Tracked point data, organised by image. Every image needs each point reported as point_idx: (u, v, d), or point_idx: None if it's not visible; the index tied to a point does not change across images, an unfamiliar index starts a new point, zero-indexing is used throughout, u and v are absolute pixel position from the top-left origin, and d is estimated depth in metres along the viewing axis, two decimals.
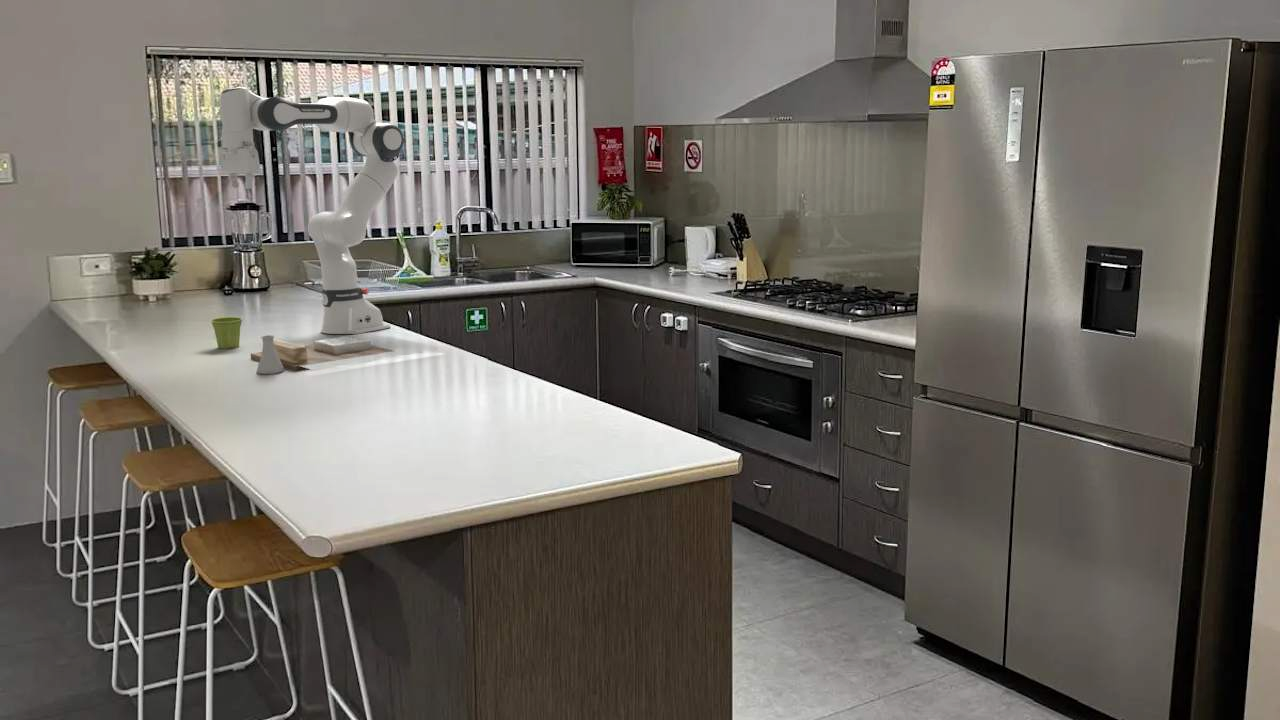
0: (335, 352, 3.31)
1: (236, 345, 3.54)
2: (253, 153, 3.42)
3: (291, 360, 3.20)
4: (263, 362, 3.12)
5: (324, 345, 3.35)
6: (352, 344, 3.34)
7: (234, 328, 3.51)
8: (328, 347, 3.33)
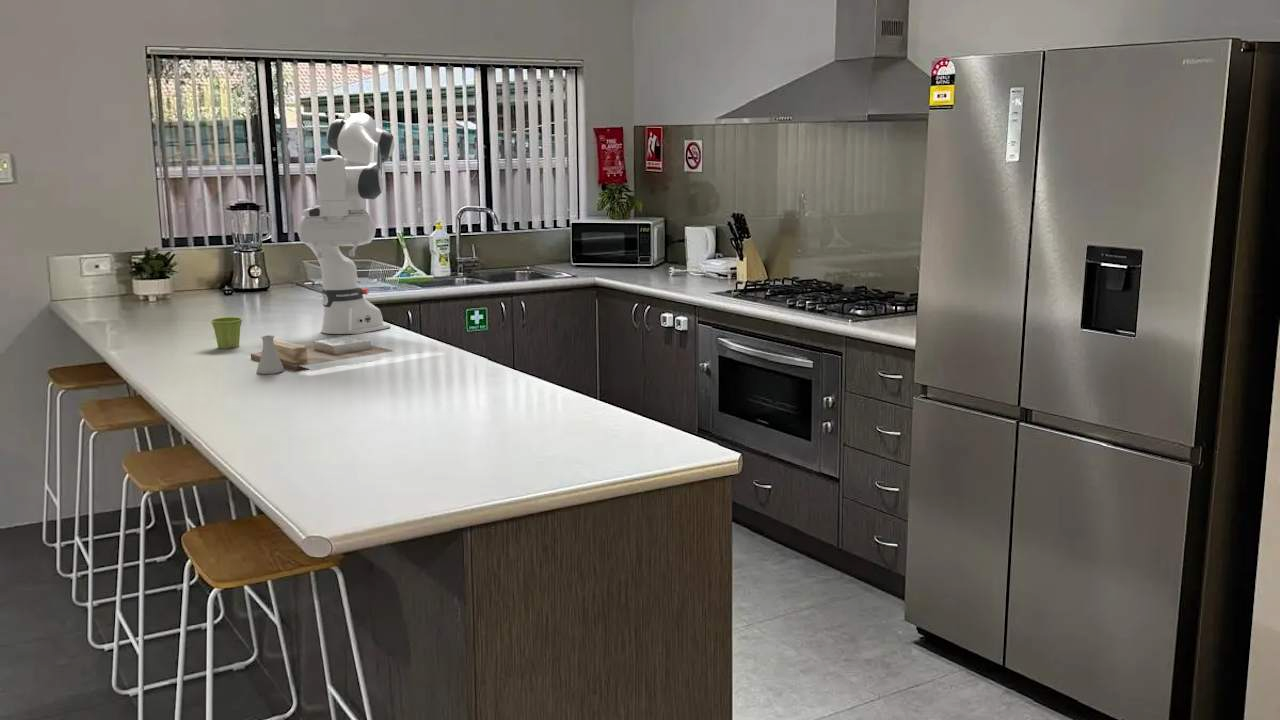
0: (335, 352, 3.31)
1: (236, 345, 3.54)
2: (368, 221, 3.47)
3: (291, 360, 3.20)
4: (263, 362, 3.12)
5: (324, 345, 3.35)
6: (352, 344, 3.34)
7: (234, 328, 3.51)
8: (328, 347, 3.33)
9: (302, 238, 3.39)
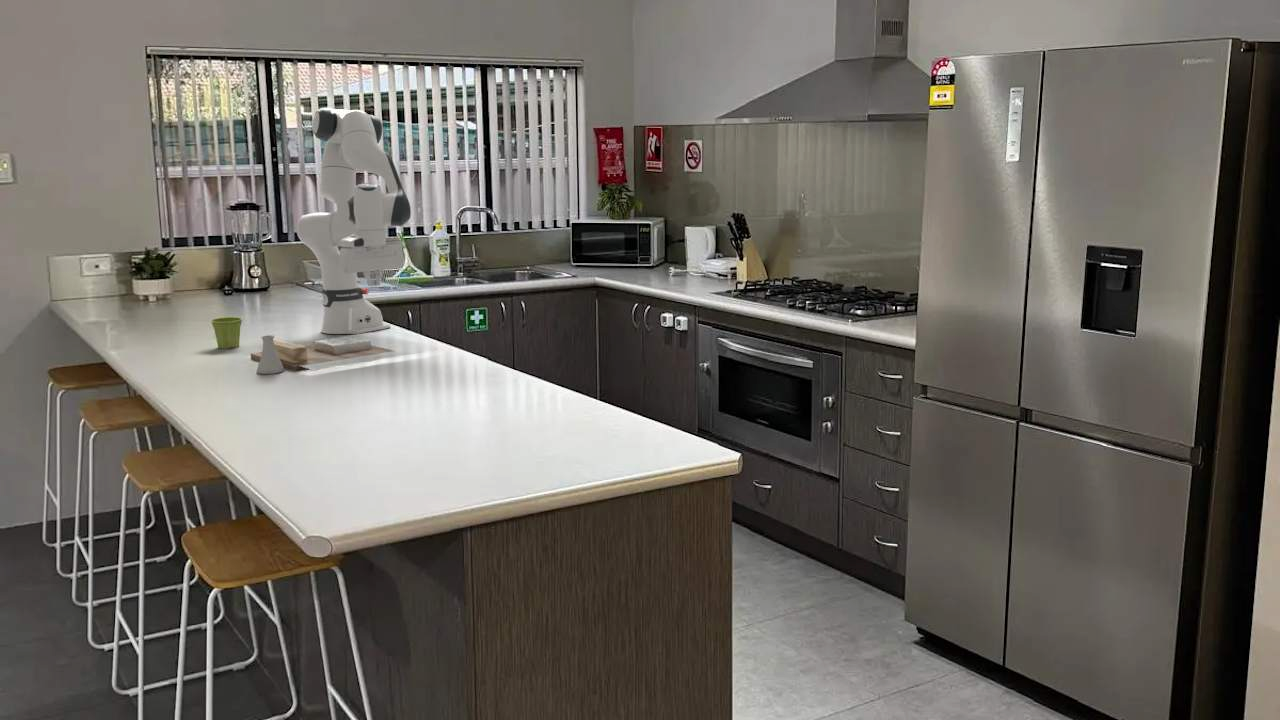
0: (335, 352, 3.31)
1: (236, 345, 3.54)
2: None
3: (291, 360, 3.20)
4: (263, 362, 3.12)
5: (324, 345, 3.35)
6: (352, 344, 3.34)
7: (234, 328, 3.51)
8: (328, 347, 3.33)
9: (346, 269, 3.35)
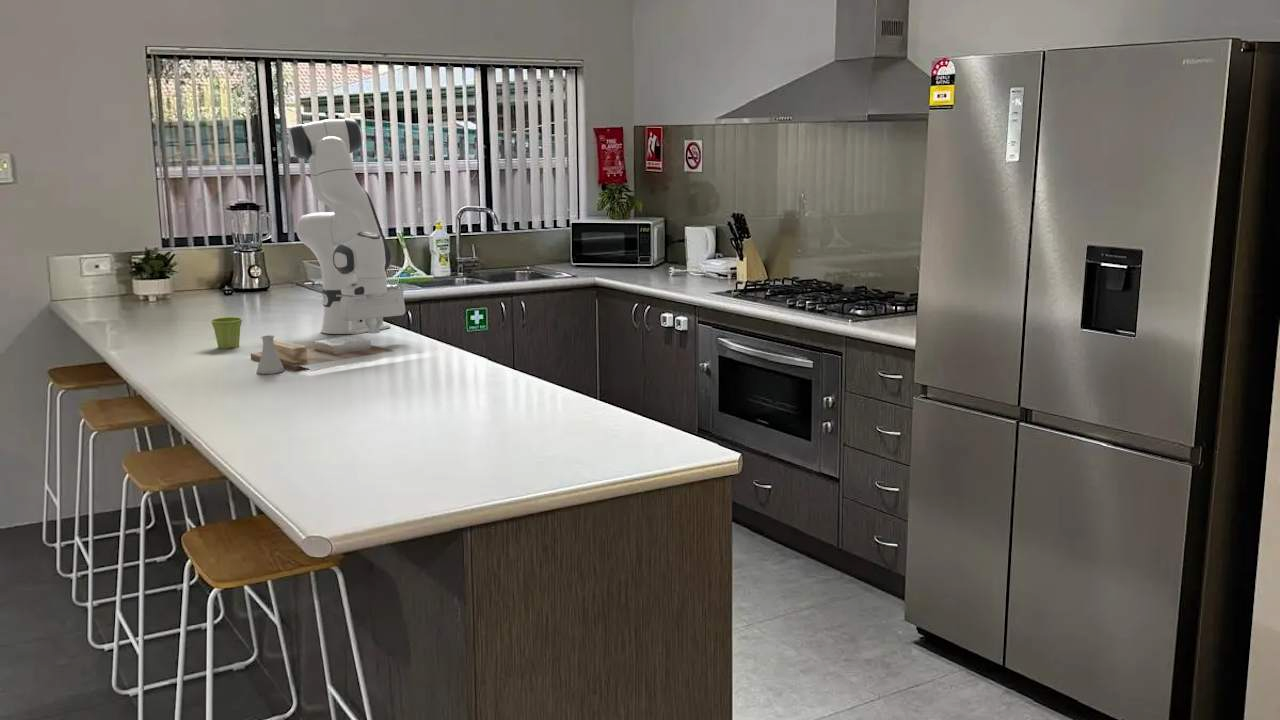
0: (335, 352, 3.31)
1: (236, 345, 3.54)
2: (402, 295, 3.50)
3: (291, 360, 3.20)
4: (263, 362, 3.12)
5: (324, 345, 3.35)
6: (352, 344, 3.34)
7: (234, 328, 3.51)
8: (328, 347, 3.33)
9: (347, 317, 3.37)
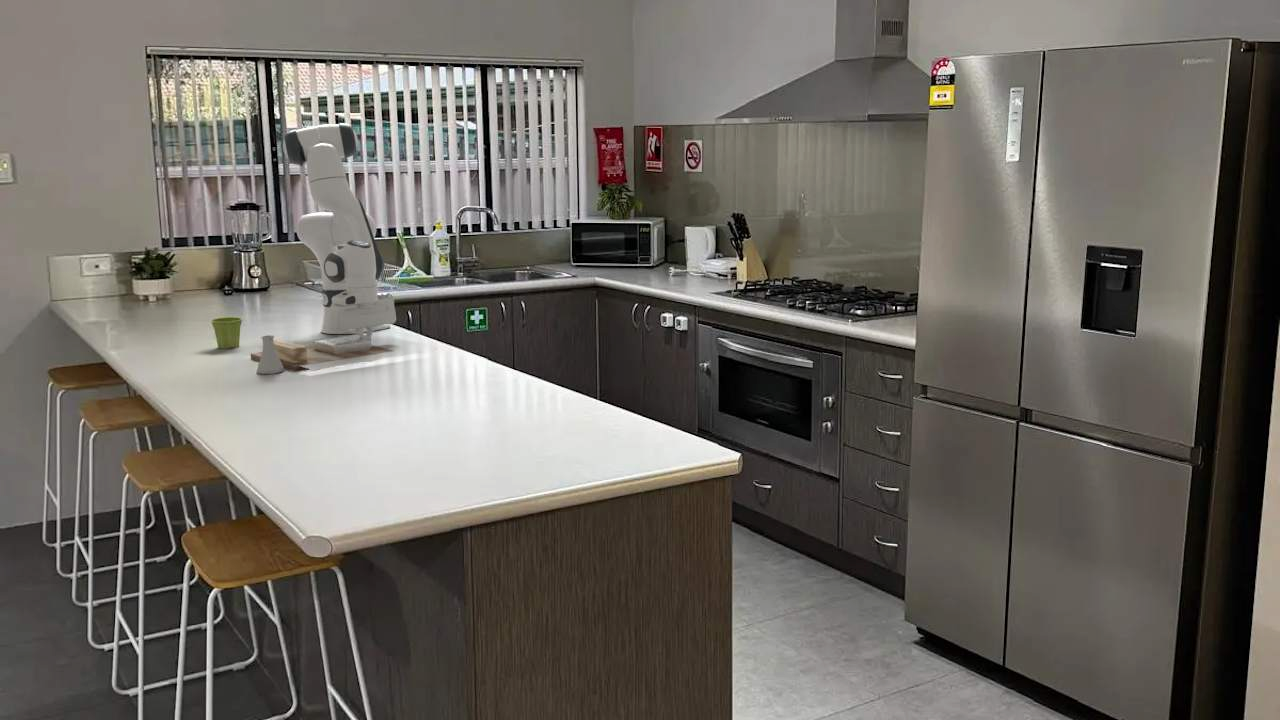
0: (335, 352, 3.31)
1: (236, 345, 3.54)
2: (393, 303, 3.49)
3: (291, 360, 3.20)
4: (263, 362, 3.12)
5: (324, 345, 3.35)
6: (352, 344, 3.34)
7: (234, 328, 3.51)
8: (328, 347, 3.33)
9: (338, 326, 3.35)
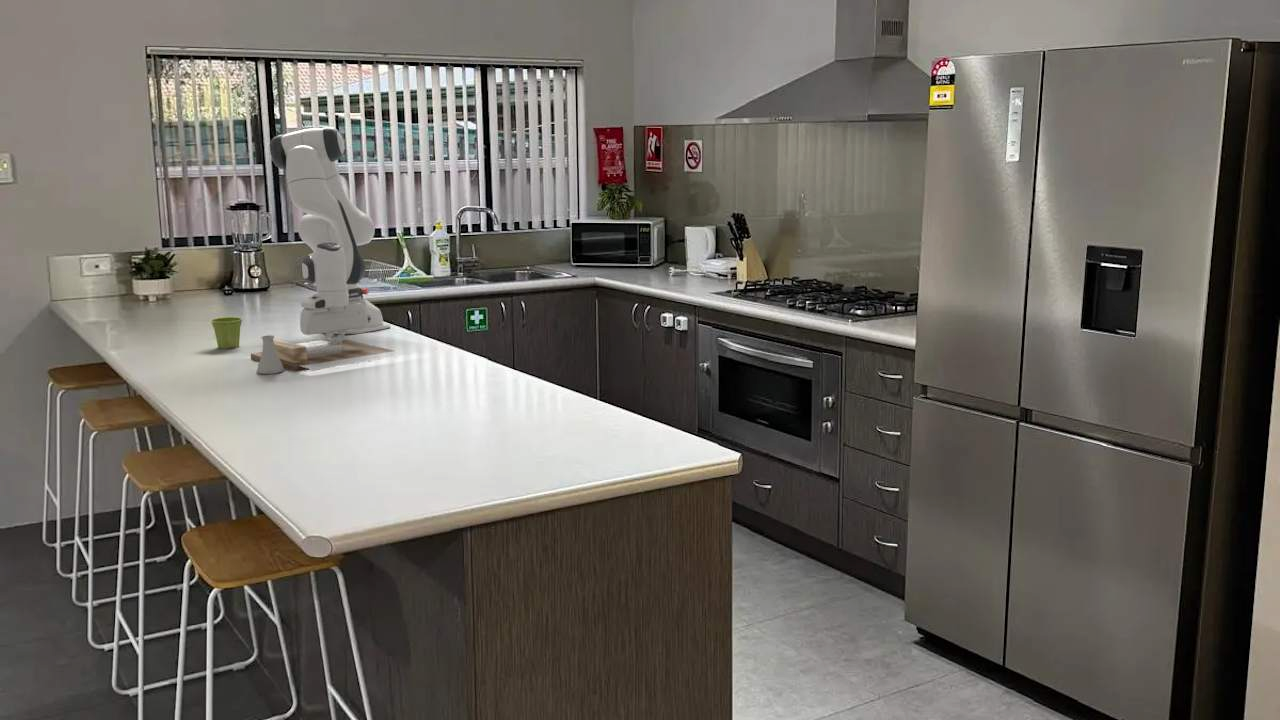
0: None
1: (236, 345, 3.54)
2: (365, 307, 3.42)
3: (291, 360, 3.20)
4: (263, 362, 3.12)
5: None
6: (322, 348, 3.28)
7: (234, 328, 3.51)
8: None
9: (307, 331, 3.29)
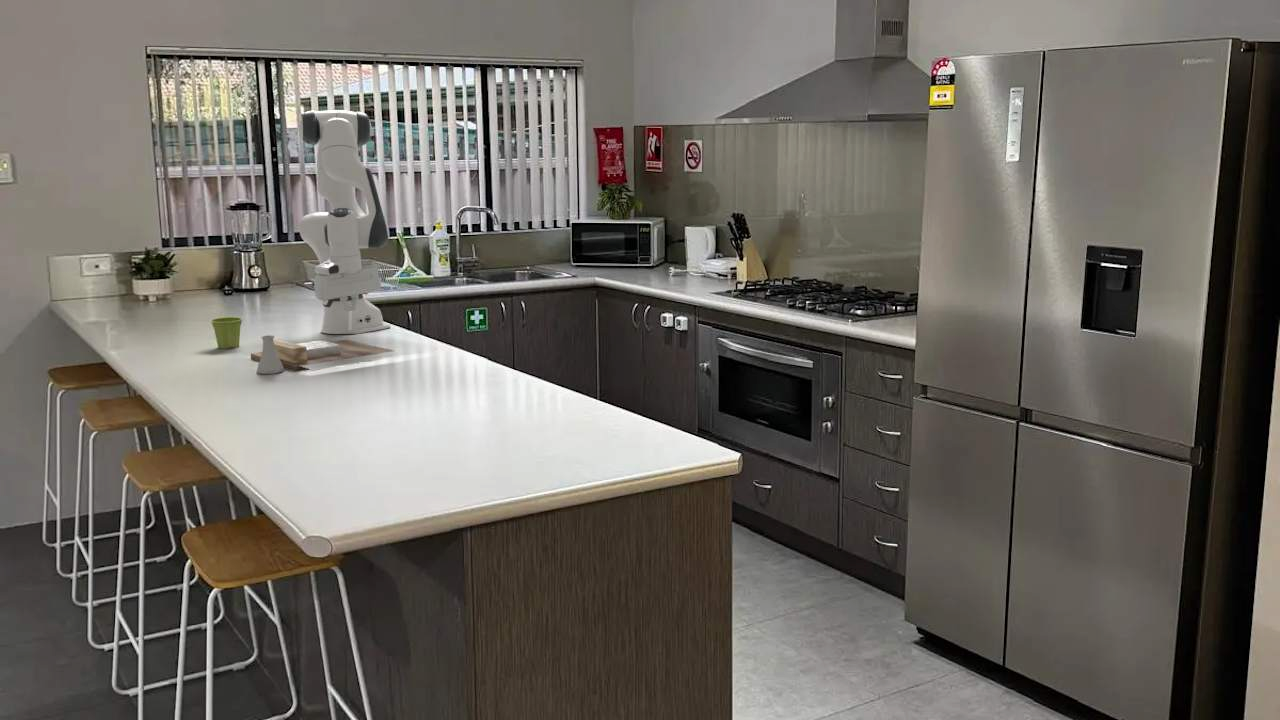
0: None
1: (236, 345, 3.54)
2: (377, 270, 3.47)
3: (291, 360, 3.20)
4: (263, 362, 3.12)
5: None
6: (321, 349, 3.28)
7: (234, 328, 3.51)
8: None
9: (322, 296, 3.34)
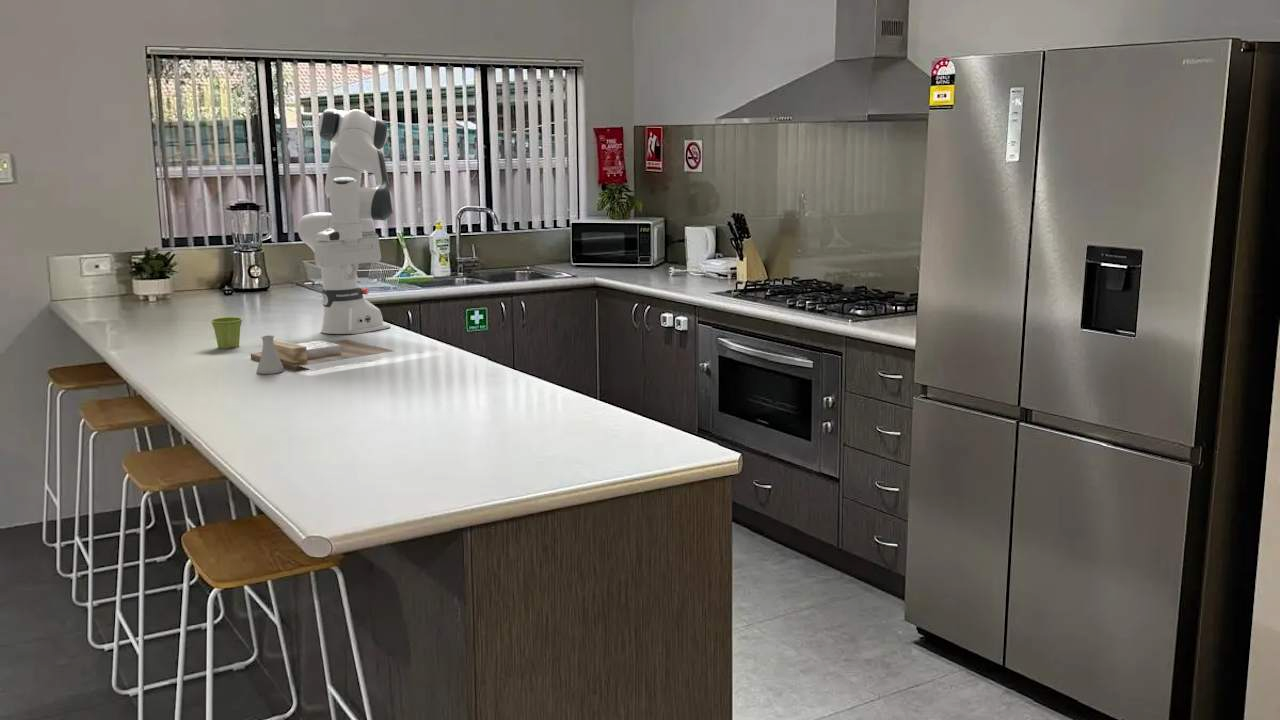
0: None
1: (236, 345, 3.54)
2: (378, 242, 3.47)
3: (291, 360, 3.20)
4: (263, 362, 3.12)
5: None
6: (321, 349, 3.28)
7: (234, 328, 3.51)
8: None
9: (322, 262, 3.33)
